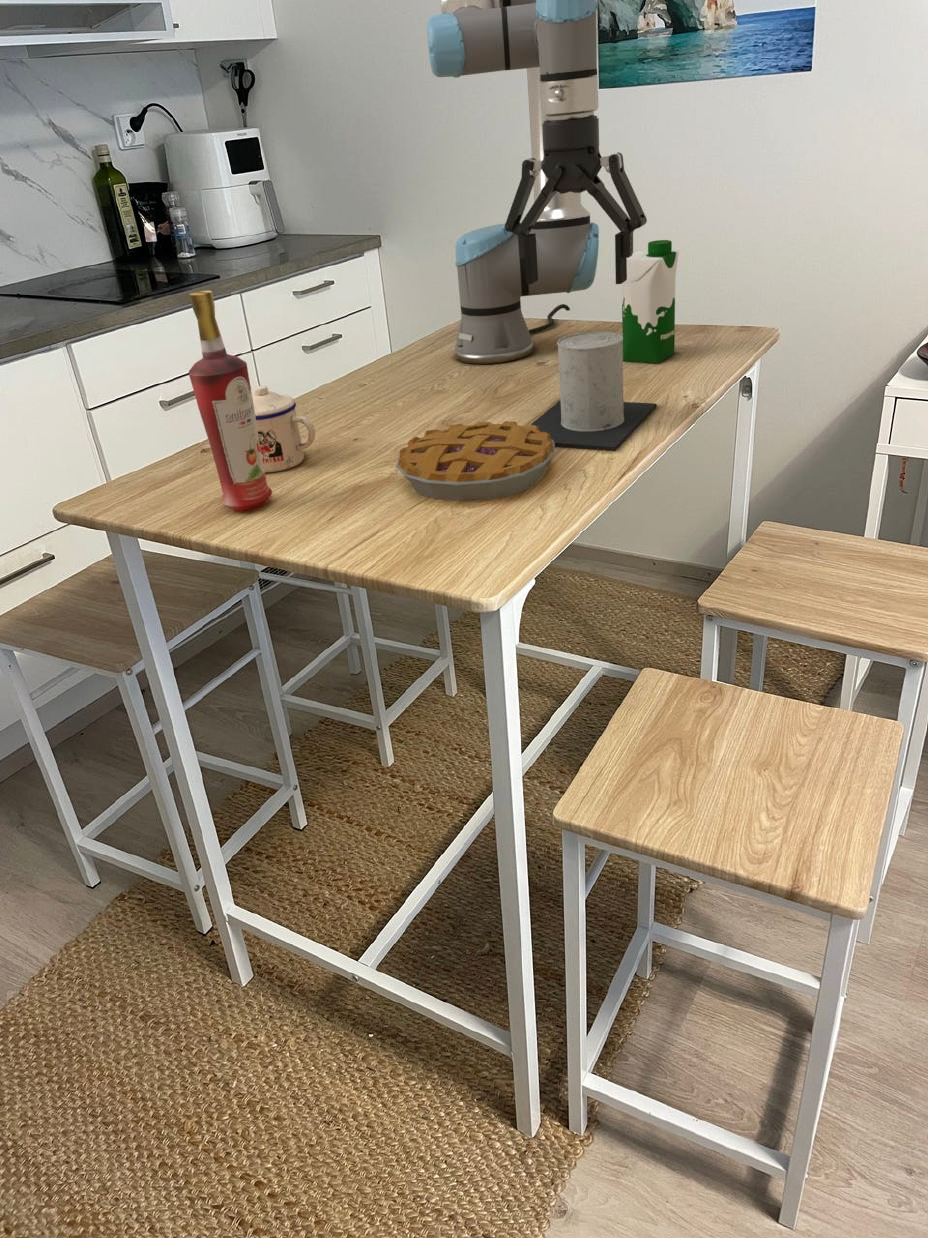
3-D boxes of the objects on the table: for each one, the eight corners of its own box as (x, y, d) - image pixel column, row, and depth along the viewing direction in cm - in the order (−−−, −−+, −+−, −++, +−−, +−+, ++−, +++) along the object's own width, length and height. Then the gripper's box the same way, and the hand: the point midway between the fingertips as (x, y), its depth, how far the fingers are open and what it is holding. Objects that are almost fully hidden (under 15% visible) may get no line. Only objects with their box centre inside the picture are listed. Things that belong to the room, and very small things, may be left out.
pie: (379, 506, 123) (373, 470, 121) (422, 448, 142) (418, 416, 139) (544, 506, 118) (541, 469, 116) (567, 446, 136) (565, 412, 134)
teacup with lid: (234, 473, 140) (217, 396, 134) (264, 451, 148) (249, 377, 142) (306, 475, 136) (291, 396, 131) (333, 453, 144) (320, 377, 138)
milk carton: (660, 365, 168) (661, 246, 158) (615, 361, 173) (613, 246, 163) (681, 352, 174) (683, 237, 164) (637, 349, 179) (636, 237, 169)
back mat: (561, 402, 155) (561, 398, 155) (656, 407, 148) (656, 403, 148) (512, 443, 140) (511, 439, 140) (615, 451, 133) (615, 447, 133)
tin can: (622, 430, 138) (621, 346, 132) (557, 432, 140) (553, 349, 134) (626, 410, 146) (624, 329, 140) (564, 412, 148) (560, 333, 142)
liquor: (252, 491, 133) (206, 285, 119) (286, 500, 129) (243, 287, 115) (211, 509, 128) (158, 297, 115) (244, 519, 124) (193, 301, 110)
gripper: (473, 125, 127) (486, 287, 138) (653, 110, 117) (652, 287, 127) (496, 120, 133) (507, 276, 144) (670, 105, 122) (668, 275, 133)
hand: (575, 282), depth 136 cm, fingers open, 13 cm apart
